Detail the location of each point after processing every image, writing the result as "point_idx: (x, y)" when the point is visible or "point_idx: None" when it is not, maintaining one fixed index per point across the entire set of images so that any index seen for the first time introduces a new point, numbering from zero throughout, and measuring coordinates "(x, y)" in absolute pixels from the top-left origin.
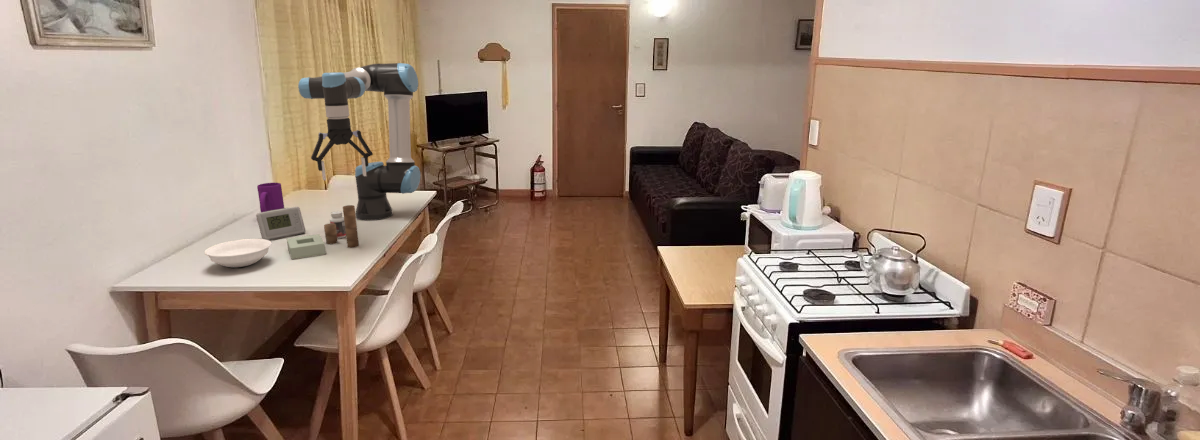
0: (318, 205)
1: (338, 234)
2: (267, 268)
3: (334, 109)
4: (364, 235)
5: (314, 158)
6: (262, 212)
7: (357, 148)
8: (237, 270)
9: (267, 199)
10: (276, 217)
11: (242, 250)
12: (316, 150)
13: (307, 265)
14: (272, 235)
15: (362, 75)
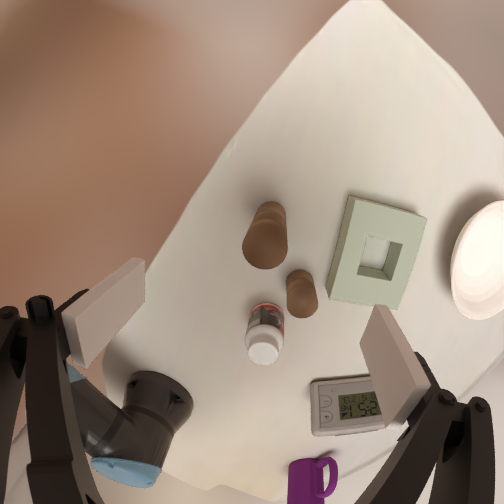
0: (226, 477)
1: (273, 308)
2: (461, 189)
3: None
4: (215, 288)
5: (479, 405)
6: None
7: (44, 396)
8: None
9: (318, 487)
10: (365, 413)
11: (467, 297)
12: (486, 462)
13: (406, 141)
14: None
15: None
